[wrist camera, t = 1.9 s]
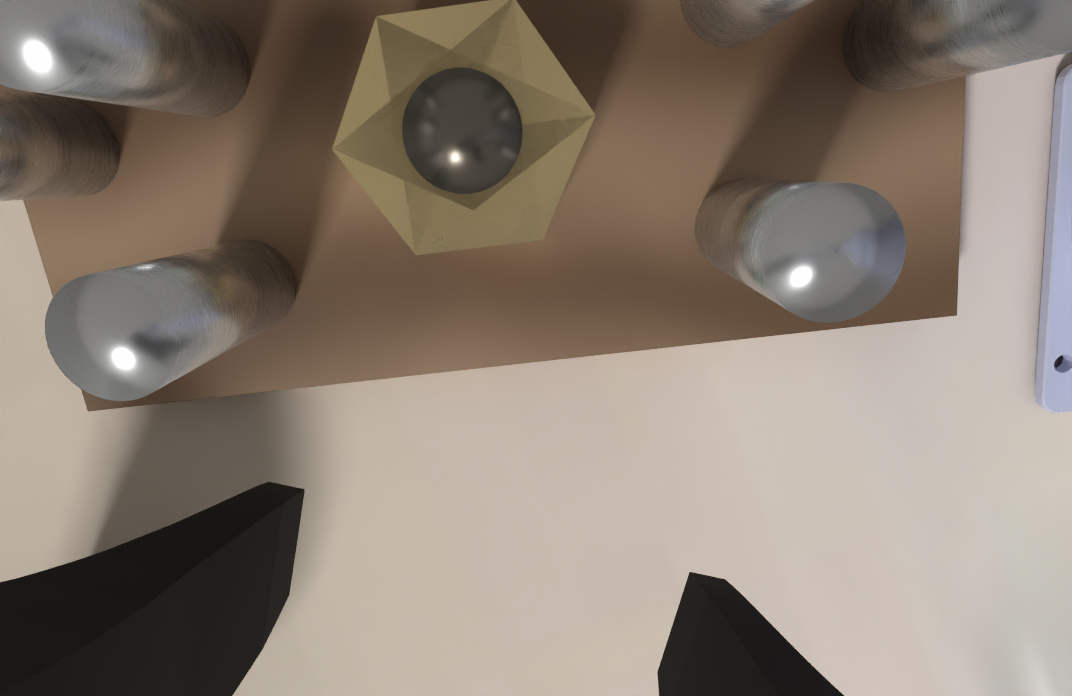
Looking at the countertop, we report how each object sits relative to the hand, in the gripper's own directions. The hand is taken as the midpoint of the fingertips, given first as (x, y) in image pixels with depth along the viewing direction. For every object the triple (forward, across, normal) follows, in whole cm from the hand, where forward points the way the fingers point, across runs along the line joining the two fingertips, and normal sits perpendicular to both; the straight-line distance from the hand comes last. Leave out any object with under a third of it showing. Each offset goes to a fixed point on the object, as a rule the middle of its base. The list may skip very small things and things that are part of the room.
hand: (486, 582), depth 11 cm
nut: (+8, +2, -7) cm, 11 cm away
